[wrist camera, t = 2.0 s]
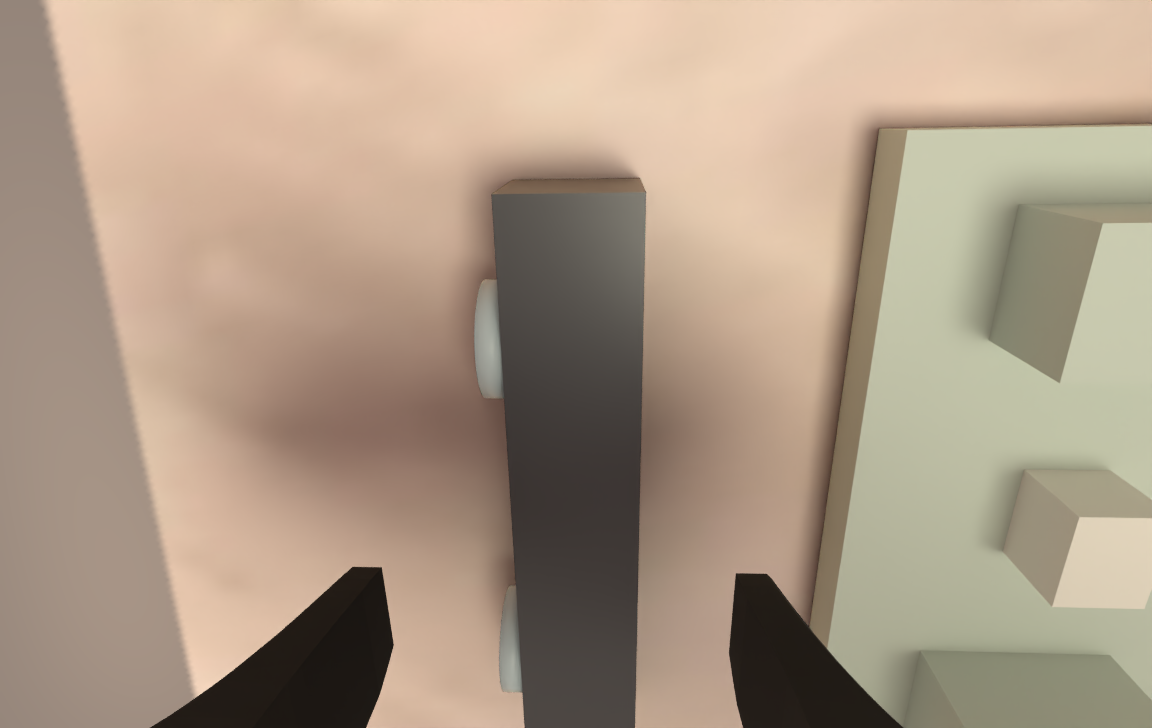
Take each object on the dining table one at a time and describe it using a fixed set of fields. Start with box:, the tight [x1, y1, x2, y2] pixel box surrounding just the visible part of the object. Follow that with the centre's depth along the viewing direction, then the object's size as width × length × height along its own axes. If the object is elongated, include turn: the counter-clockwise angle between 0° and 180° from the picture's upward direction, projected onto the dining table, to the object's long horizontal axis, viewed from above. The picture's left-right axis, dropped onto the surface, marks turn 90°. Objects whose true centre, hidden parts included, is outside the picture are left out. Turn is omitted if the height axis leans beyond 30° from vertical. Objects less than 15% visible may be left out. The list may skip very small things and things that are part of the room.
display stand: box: [809, 124, 1152, 728], centre depth 16 cm, size 18×10×4 cm, turn 1°
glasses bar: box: [474, 178, 646, 728], centre depth 17 cm, size 16×4×3 cm, turn 1°
